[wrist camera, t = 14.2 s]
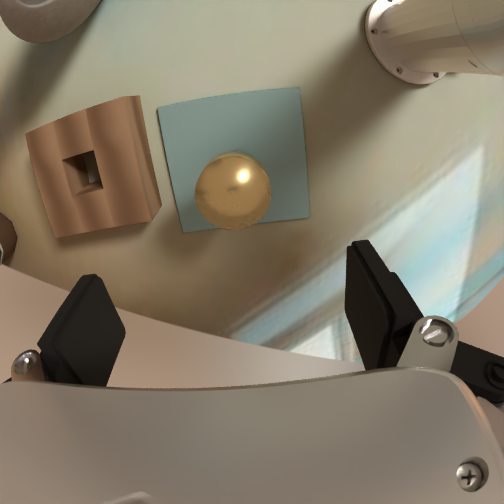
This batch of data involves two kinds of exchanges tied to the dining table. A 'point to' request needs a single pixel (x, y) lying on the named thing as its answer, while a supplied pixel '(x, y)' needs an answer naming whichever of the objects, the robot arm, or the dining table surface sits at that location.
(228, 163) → the pin
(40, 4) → the planter
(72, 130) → the block
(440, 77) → the robot arm
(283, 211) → the mat
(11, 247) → the beer bottle
